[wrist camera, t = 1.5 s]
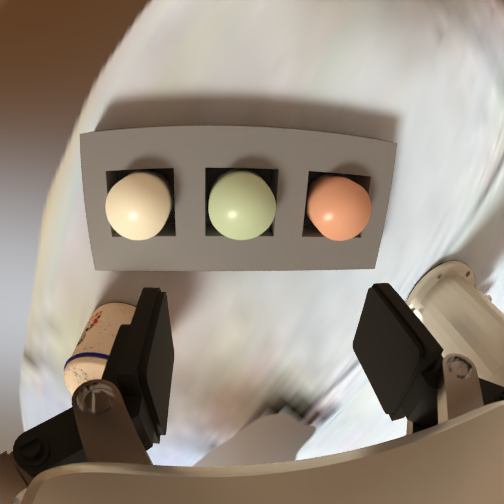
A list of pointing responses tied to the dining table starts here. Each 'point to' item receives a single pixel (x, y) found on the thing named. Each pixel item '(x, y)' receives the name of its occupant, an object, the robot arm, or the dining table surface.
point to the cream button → (139, 204)
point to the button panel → (195, 188)
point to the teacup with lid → (96, 344)
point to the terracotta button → (337, 206)
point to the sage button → (241, 204)
